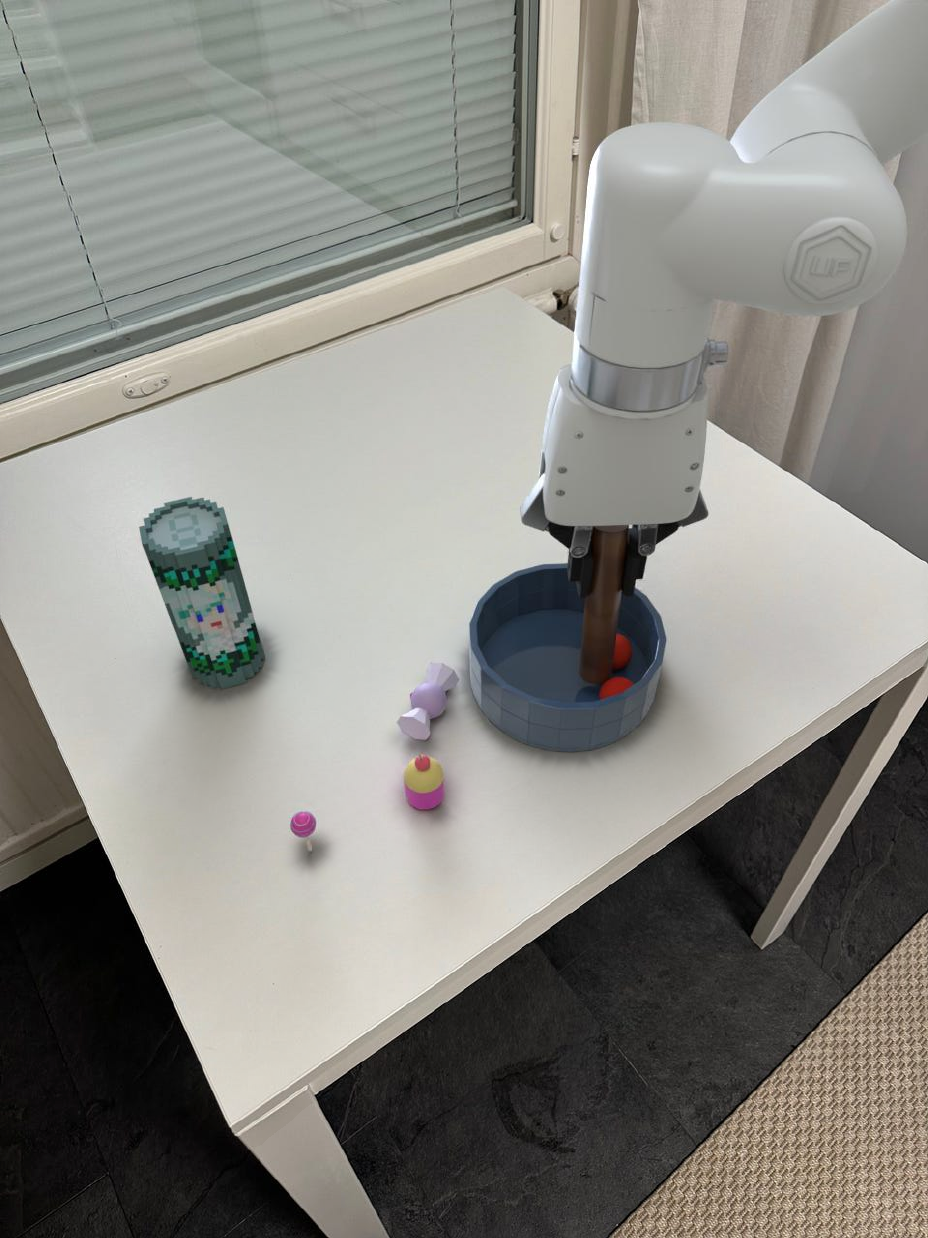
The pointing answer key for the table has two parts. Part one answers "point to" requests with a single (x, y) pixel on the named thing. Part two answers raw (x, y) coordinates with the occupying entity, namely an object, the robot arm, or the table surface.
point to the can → (203, 590)
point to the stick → (603, 603)
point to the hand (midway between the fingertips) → (603, 582)
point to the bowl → (557, 662)
